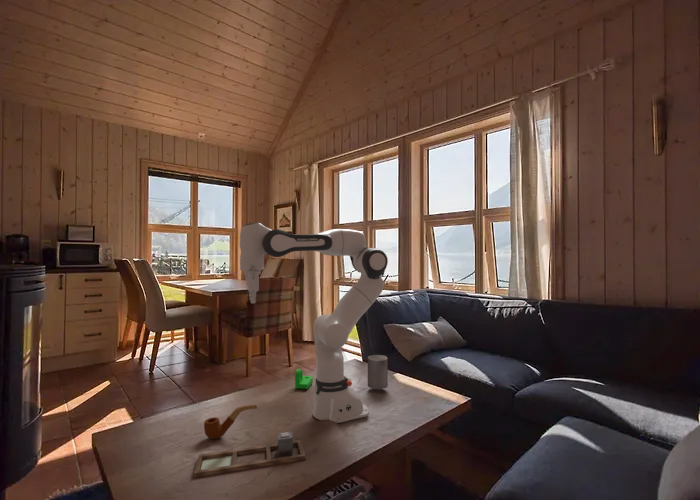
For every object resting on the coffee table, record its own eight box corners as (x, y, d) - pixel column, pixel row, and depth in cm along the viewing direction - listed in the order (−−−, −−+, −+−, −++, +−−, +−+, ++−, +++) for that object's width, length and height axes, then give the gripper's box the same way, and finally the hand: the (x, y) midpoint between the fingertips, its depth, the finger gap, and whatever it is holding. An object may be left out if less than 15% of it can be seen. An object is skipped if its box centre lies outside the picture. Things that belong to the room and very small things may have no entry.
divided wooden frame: (300, 443, 121) (300, 440, 121) (305, 459, 112) (305, 455, 112) (198, 458, 113) (198, 455, 113) (194, 477, 103) (194, 473, 103)
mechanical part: (307, 388, 172) (307, 371, 172) (295, 388, 173) (295, 371, 173) (314, 380, 184) (313, 364, 184) (302, 379, 185) (302, 363, 185)
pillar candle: (368, 382, 180) (368, 351, 180) (388, 382, 179) (388, 352, 179) (366, 389, 170) (366, 357, 170) (387, 390, 169) (387, 357, 169)
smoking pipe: (209, 446, 122) (207, 439, 127) (261, 419, 130) (258, 413, 135) (202, 426, 121) (201, 420, 127) (255, 400, 129) (252, 396, 134)
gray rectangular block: (291, 449, 118) (291, 430, 118) (292, 457, 114) (292, 436, 114) (277, 451, 117) (277, 432, 117) (278, 459, 112) (278, 438, 112)
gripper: (262, 265, 129) (263, 304, 129) (258, 264, 149) (259, 298, 149) (244, 266, 128) (244, 305, 127) (242, 264, 147) (243, 299, 147)
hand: (252, 301), depth 138 cm, fingers open, 8 cm apart
